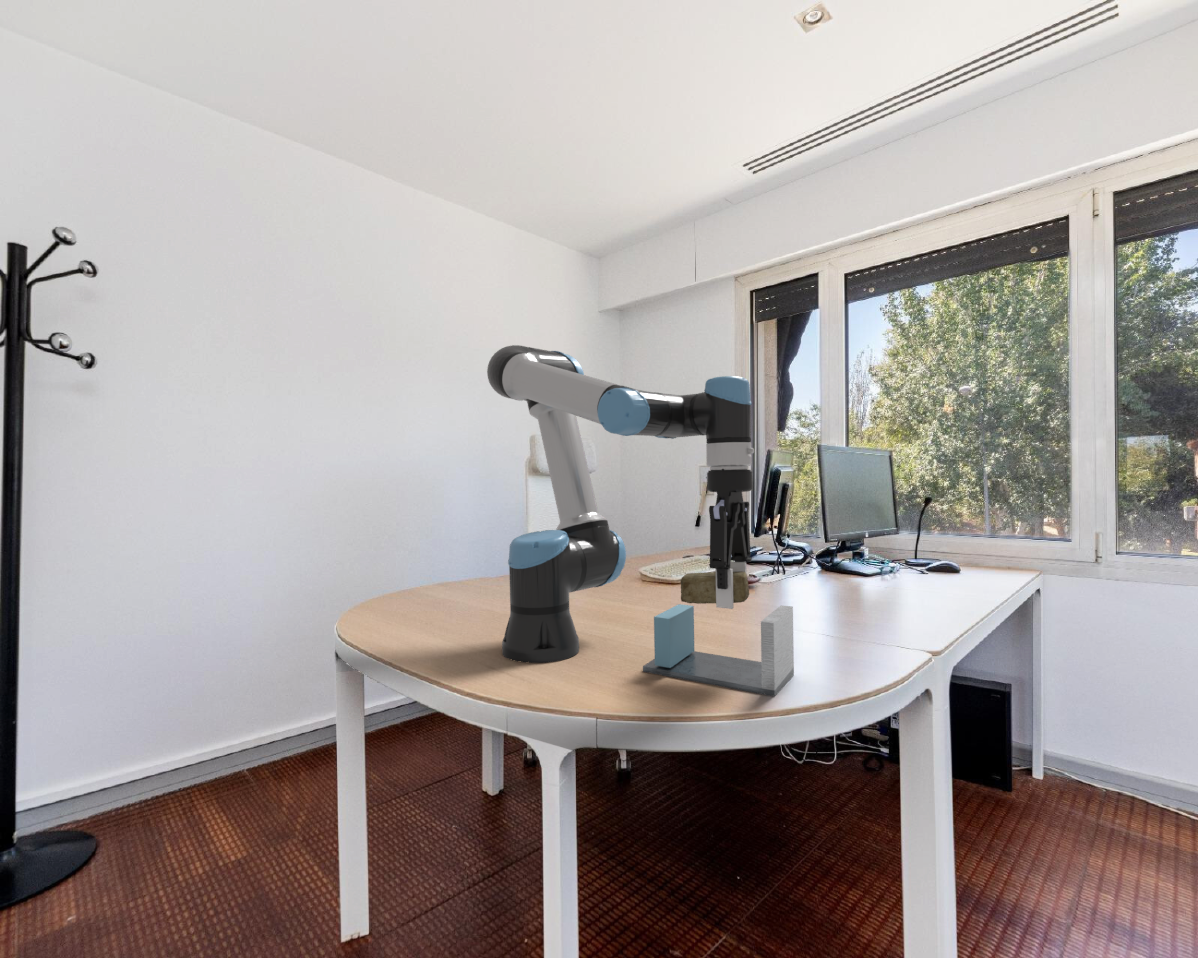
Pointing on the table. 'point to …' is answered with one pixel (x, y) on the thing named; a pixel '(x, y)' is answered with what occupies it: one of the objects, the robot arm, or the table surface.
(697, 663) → the vise bed
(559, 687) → the table surface
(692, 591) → the stone block
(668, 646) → the sliding jaw
